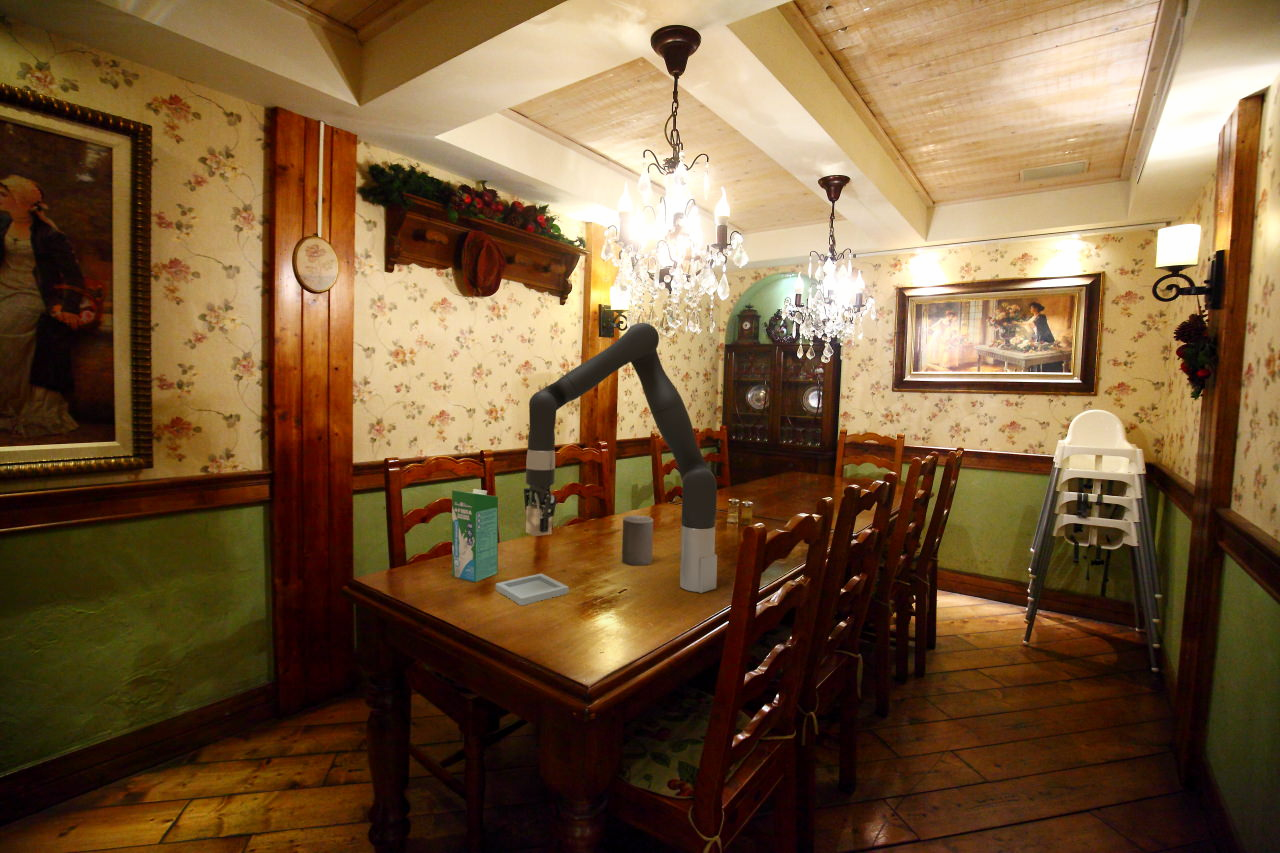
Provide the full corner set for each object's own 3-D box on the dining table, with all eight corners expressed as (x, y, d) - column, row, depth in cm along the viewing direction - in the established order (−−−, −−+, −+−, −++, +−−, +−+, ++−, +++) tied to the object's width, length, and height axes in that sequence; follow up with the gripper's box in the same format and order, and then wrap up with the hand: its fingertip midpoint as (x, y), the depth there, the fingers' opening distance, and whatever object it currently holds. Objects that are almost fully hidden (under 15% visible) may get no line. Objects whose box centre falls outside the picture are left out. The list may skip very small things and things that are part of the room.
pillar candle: (617, 563, 178) (618, 516, 177) (627, 555, 188) (628, 510, 186) (647, 567, 175) (649, 519, 174) (655, 558, 185) (657, 512, 184)
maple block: (551, 533, 153) (552, 508, 153) (534, 536, 150) (535, 509, 150) (542, 529, 157) (543, 504, 157) (525, 532, 154) (526, 506, 153)
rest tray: (568, 593, 152) (568, 586, 152) (521, 605, 143) (521, 598, 143) (541, 579, 162) (541, 573, 162) (495, 590, 153) (495, 583, 153)
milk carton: (498, 573, 167) (498, 488, 165) (474, 582, 159) (474, 493, 158) (475, 568, 172) (475, 485, 170) (452, 576, 164) (451, 489, 162)
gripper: (567, 469, 149) (564, 533, 150) (539, 462, 160) (537, 522, 161) (541, 471, 144) (539, 537, 146) (515, 463, 156) (513, 525, 157)
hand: (538, 529), depth 153 cm, fingers closed on maple block, 5 cm apart
